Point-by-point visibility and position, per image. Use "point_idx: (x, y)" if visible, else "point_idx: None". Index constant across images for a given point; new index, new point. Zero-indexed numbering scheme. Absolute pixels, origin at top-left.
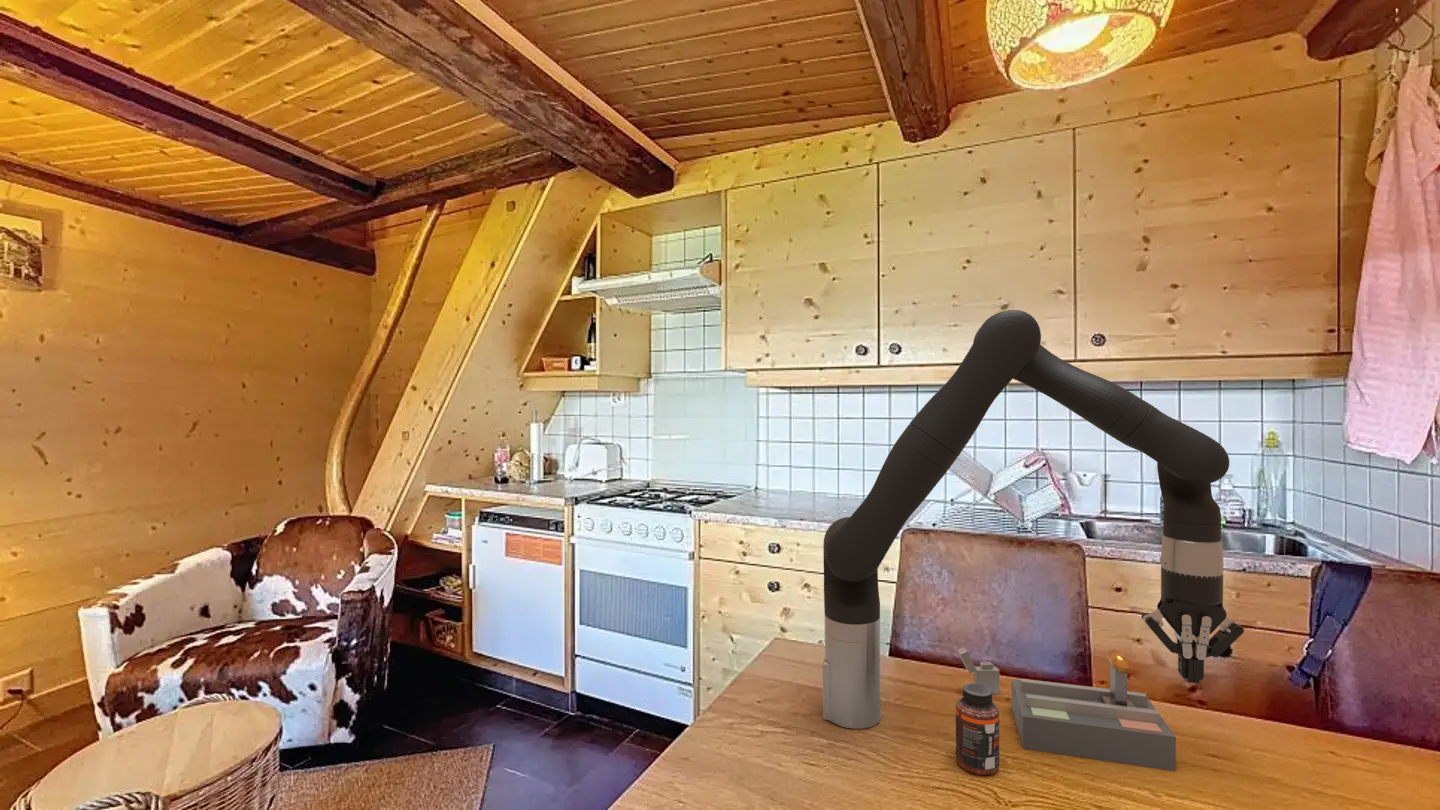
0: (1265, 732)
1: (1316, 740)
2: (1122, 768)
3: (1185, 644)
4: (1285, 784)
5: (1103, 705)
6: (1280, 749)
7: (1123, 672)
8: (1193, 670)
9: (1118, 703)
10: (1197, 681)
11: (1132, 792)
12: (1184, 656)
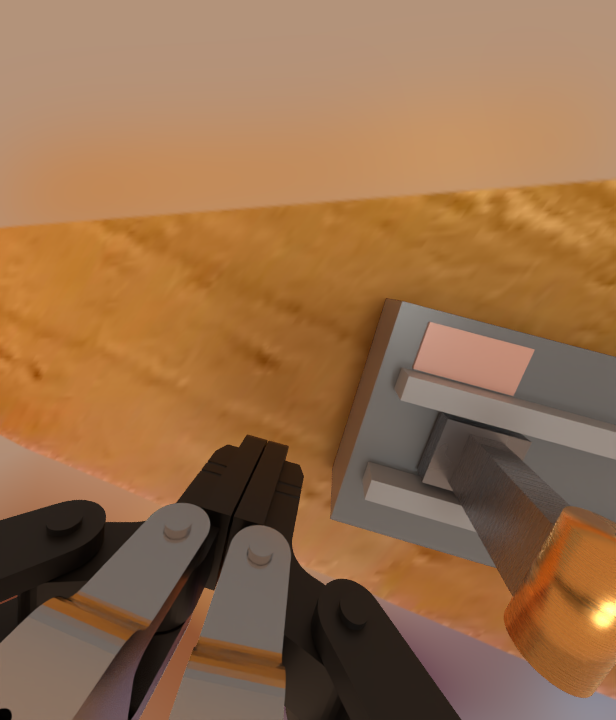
0: (112, 439)
1: (39, 412)
2: (502, 306)
3: (253, 647)
4: (188, 261)
5: (564, 431)
6: (121, 383)
7: (582, 512)
8: (254, 472)
9: (498, 443)
10: (252, 438)
11: (550, 208)
12: (283, 543)
